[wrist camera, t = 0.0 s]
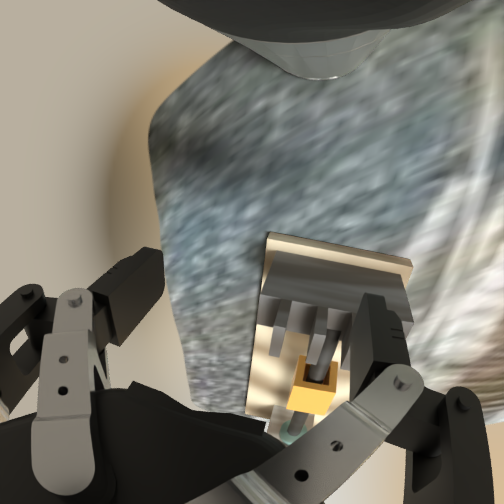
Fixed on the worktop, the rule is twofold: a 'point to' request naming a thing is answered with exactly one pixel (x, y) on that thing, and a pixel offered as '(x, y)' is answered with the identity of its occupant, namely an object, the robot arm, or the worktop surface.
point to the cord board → (314, 321)
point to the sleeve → (312, 389)
